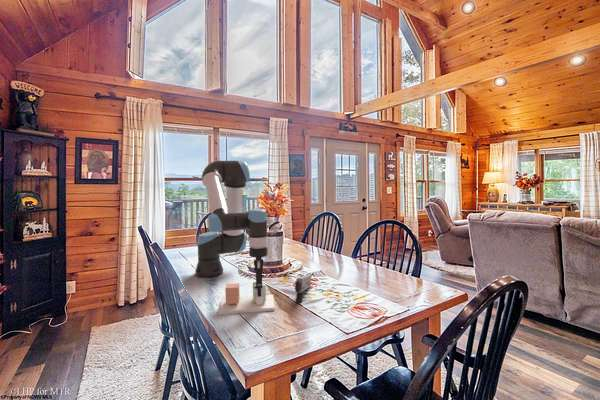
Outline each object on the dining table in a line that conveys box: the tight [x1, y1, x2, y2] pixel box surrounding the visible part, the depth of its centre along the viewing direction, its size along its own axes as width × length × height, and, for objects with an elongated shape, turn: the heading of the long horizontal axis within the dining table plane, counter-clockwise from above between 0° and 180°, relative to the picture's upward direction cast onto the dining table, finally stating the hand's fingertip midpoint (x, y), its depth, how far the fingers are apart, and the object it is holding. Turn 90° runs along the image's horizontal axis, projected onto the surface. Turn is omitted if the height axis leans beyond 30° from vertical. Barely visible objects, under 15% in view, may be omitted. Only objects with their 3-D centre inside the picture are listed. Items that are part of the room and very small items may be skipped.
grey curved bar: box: [294, 273, 312, 304], centre depth 137 cm, size 2×25×10 cm, turn 166°
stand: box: [218, 282, 276, 315], centre depth 126 cm, size 14×22×9 cm, turn 98°
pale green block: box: [252, 281, 267, 302], centre depth 126 cm, size 5×5×7 cm
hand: (259, 298), depth 126 cm, fingers open, 11 cm apart
